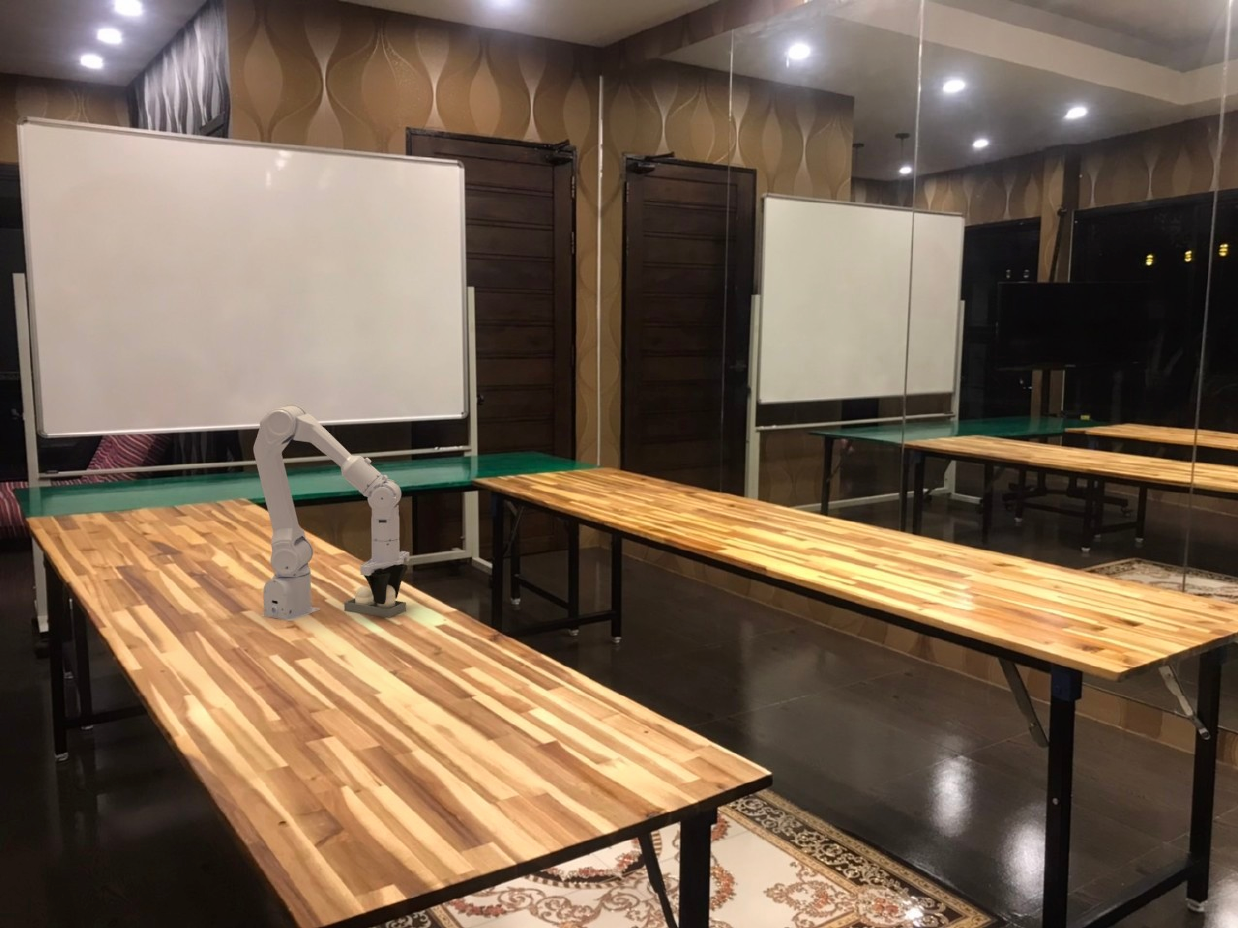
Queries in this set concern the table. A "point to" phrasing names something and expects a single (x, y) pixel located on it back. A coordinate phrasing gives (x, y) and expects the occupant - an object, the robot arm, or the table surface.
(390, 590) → the cream rounded cylinder
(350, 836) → the table surface
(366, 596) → the carton egg
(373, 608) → the egg carton
